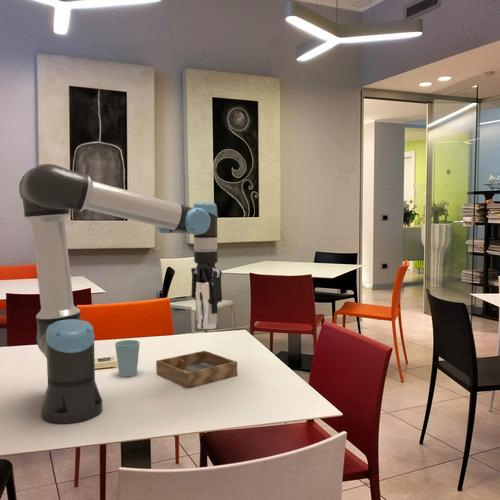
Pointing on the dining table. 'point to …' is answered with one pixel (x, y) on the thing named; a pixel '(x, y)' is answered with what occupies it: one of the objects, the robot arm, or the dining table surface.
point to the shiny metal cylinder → (203, 305)
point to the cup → (127, 357)
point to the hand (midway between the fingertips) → (206, 321)
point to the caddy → (196, 368)
